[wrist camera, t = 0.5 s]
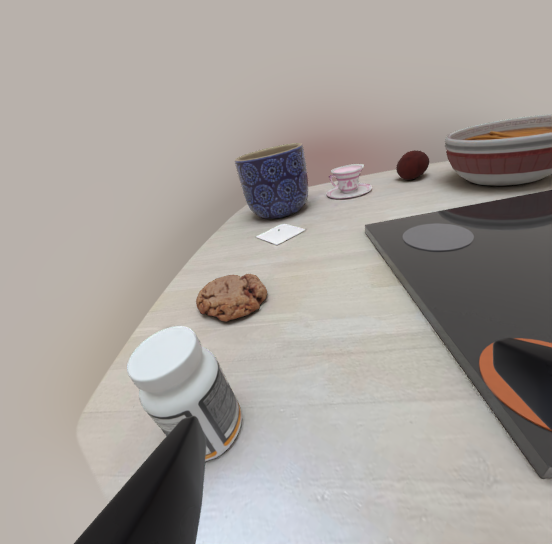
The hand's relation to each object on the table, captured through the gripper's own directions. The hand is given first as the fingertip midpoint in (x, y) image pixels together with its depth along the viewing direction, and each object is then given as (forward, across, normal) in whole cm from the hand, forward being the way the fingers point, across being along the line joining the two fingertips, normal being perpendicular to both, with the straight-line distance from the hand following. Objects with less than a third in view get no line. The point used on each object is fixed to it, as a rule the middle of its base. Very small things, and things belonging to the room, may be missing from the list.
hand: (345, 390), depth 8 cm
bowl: (+50, -51, +3) cm, 71 cm away
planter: (+64, -3, -1) cm, 64 cm away
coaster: (+50, -1, +2) cm, 50 cm away
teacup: (+67, -22, -2) cm, 70 cm away
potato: (+65, -40, -1) cm, 76 cm away
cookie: (+29, +9, +7) cm, 32 cm away
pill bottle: (+12, +10, +12) cm, 20 cm away
